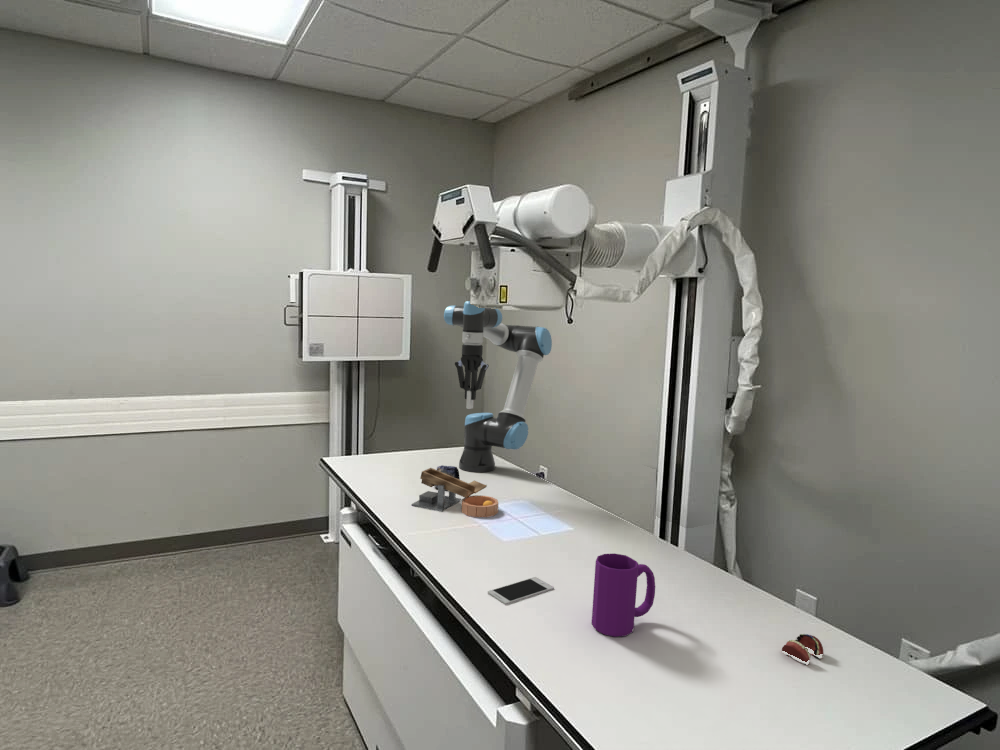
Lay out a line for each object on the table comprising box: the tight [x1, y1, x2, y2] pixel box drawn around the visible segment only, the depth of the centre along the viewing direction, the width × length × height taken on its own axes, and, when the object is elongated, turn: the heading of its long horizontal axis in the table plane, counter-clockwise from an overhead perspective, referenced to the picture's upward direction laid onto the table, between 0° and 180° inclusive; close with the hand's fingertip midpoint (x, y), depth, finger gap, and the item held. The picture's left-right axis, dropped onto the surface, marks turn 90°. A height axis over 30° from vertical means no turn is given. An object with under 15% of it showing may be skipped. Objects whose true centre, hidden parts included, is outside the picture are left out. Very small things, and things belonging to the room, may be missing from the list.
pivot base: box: [411, 485, 462, 512], centre depth 216 cm, size 12×14×8 cm
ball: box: [483, 501, 493, 506], centre depth 209 cm, size 4×4×4 cm
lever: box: [419, 467, 488, 498], centre depth 218 cm, size 18×15×4 cm
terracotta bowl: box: [460, 494, 499, 518], centre depth 210 cm, size 12×12×4 cm
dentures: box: [781, 633, 824, 662], centre depth 129 cm, size 6×4×8 cm
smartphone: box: [487, 576, 555, 606], centre depth 153 cm, size 7×15×1 cm, turn 128°
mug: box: [591, 553, 656, 638], centre depth 138 cm, size 9×16×15 cm, turn 118°
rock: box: [433, 464, 461, 491], centre depth 236 cm, size 11×10×10 cm
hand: (469, 408), depth 231 cm, fingers closed
